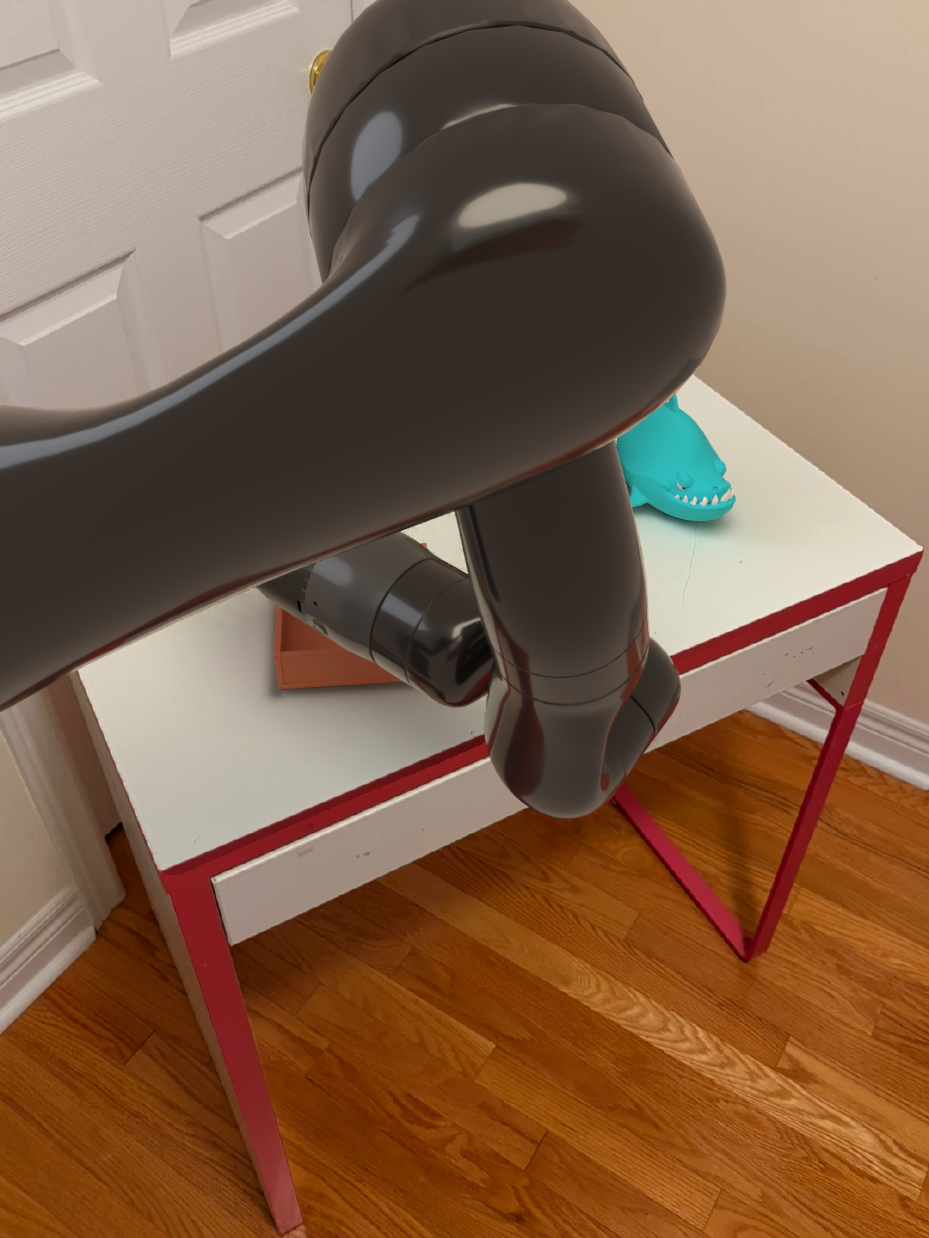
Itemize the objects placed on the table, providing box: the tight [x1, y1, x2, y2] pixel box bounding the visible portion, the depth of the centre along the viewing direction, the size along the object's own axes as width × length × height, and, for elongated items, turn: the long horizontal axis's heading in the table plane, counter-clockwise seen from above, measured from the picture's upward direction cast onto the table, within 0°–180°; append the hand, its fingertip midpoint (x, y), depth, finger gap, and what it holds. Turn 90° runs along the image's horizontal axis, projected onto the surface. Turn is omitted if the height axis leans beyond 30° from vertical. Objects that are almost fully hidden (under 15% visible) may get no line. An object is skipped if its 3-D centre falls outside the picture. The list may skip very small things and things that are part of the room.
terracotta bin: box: [273, 542, 428, 690], centre depth 82 cm, size 12×12×4 cm
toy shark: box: [616, 393, 737, 522], centre depth 93 cm, size 10×18×11 cm, turn 30°
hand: (170, 468), depth 69 cm, fingers closed on milkshake, 4 cm apart
